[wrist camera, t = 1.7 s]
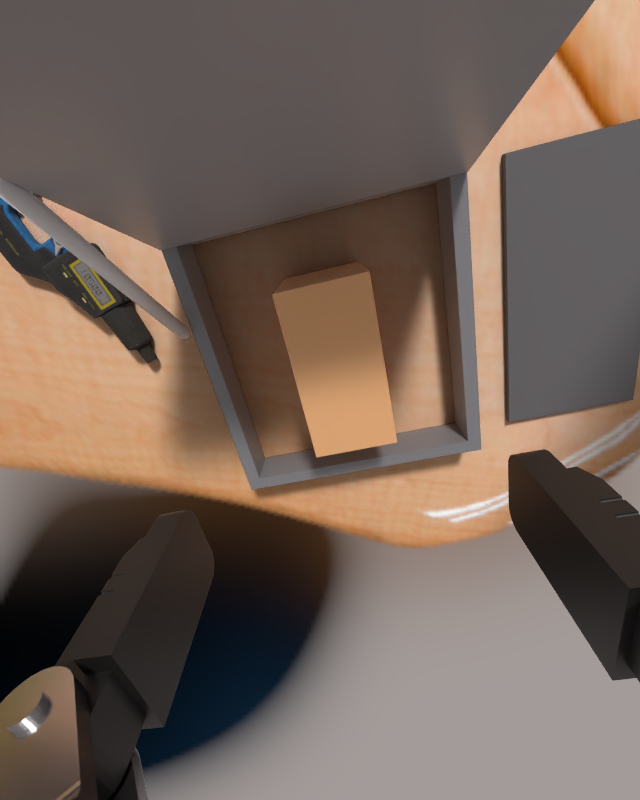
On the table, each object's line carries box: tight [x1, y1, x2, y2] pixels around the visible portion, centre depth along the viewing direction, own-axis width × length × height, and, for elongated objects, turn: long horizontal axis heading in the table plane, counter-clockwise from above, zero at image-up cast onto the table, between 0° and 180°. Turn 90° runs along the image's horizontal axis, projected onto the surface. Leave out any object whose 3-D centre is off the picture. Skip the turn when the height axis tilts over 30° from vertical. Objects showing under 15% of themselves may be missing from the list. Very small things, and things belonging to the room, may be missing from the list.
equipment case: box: [0, 0, 594, 490], centre depth 16 cm, size 16×20×16 cm
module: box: [272, 261, 397, 457], centre depth 21 cm, size 4×9×6 cm, turn 13°
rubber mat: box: [502, 119, 640, 422], centre depth 22 cm, size 8×16×1 cm, turn 13°
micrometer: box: [0, 191, 157, 363], centre depth 22 cm, size 12×2×5 cm
